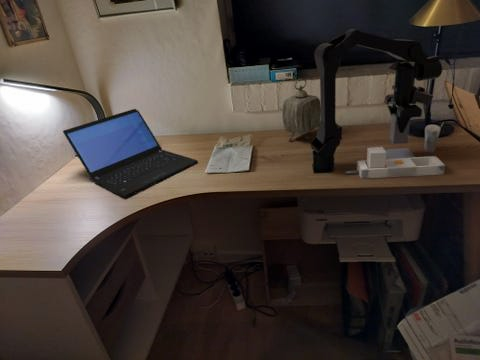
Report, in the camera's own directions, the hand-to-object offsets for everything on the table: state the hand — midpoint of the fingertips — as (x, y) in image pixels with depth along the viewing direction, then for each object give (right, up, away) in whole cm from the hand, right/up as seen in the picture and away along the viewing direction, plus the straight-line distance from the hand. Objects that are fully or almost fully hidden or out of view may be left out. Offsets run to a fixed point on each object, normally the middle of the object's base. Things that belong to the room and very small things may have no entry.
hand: (399, 130), depth 111 cm
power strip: (-5, -14, -5) cm, 16 cm away
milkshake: (+13, -6, +5) cm, 16 cm away
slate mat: (+1, -8, +4) cm, 9 cm away
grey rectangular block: (0, -3, +2) cm, 4 cm away
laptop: (-94, -13, +22) cm, 98 cm away
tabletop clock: (-27, +1, +29) cm, 40 cm away
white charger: (-10, -14, -5) cm, 18 cm away
